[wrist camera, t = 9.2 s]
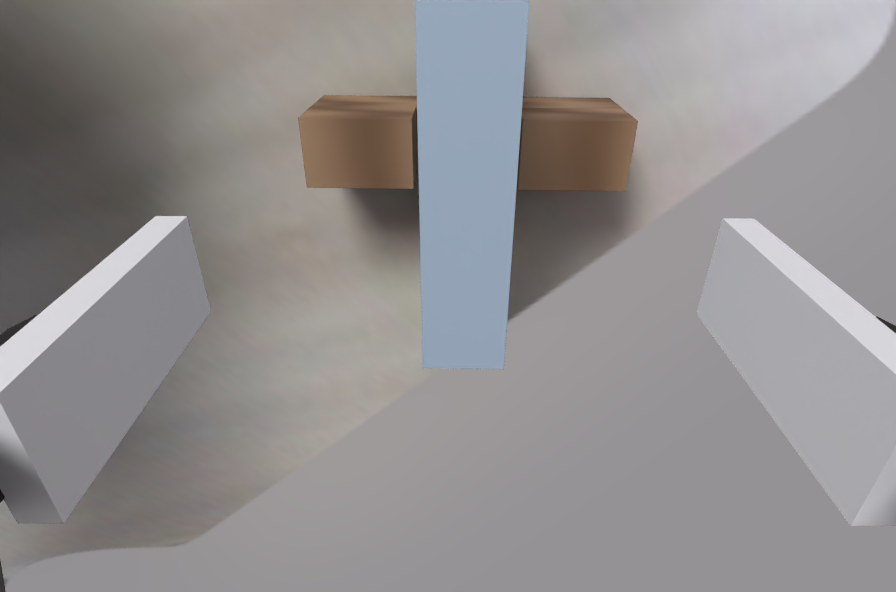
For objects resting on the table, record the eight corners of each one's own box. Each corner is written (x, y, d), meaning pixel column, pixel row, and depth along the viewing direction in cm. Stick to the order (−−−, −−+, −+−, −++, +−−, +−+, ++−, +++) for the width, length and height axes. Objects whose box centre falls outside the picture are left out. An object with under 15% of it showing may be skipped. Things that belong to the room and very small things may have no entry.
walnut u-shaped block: (329, 156, 29) (306, 187, 24) (323, 95, 27) (297, 117, 23) (600, 158, 29) (625, 191, 24) (609, 98, 27) (637, 121, 23)
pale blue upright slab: (435, 236, 31) (422, 368, 20) (433, -9, 25) (414, 0, 15) (489, 237, 31) (504, 369, 20) (500, -9, 25) (529, 1, 14)
